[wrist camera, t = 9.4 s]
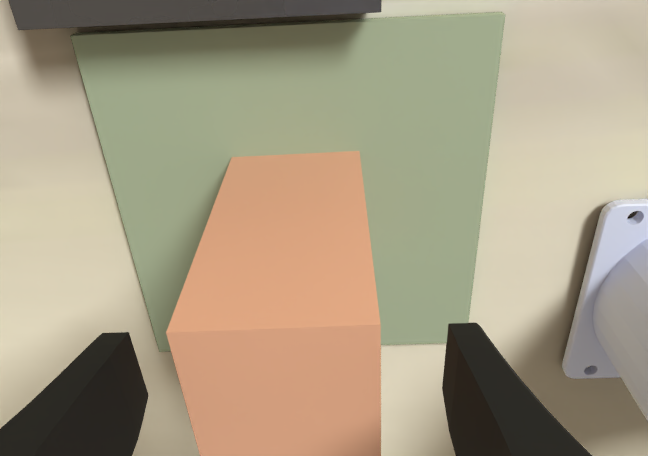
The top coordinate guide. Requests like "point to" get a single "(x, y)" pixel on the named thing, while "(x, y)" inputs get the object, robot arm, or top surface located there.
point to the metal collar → (171, 11)
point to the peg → (283, 313)
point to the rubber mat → (306, 141)
